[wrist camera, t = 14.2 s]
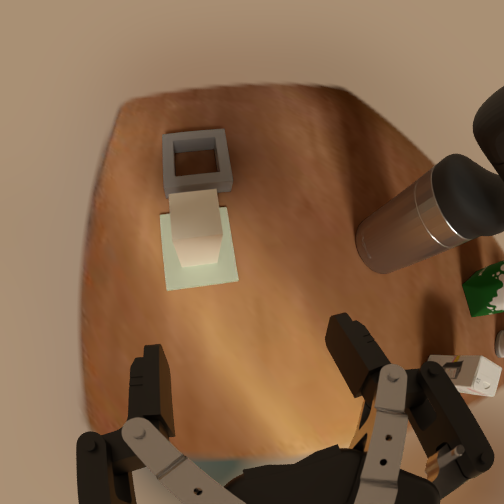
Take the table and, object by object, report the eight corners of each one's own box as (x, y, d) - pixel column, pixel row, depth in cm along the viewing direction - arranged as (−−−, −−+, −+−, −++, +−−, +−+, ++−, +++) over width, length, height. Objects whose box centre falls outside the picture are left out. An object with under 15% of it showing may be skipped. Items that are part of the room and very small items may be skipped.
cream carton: (212, 229, 36) (216, 188, 26) (217, 262, 35) (222, 233, 25) (178, 233, 35) (168, 194, 25) (181, 267, 34) (172, 240, 24)
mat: (226, 208, 38) (226, 206, 37) (238, 281, 35) (238, 280, 35) (160, 216, 36) (159, 214, 35) (167, 290, 33) (166, 290, 33)
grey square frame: (222, 140, 41) (224, 128, 38) (231, 191, 38) (233, 180, 36) (164, 146, 39) (162, 134, 36) (166, 198, 37) (163, 188, 34)
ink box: (454, 366, 37) (504, 366, 26) (446, 392, 36) (495, 397, 24) (428, 353, 37) (481, 352, 26) (418, 382, 35) (471, 388, 24)
